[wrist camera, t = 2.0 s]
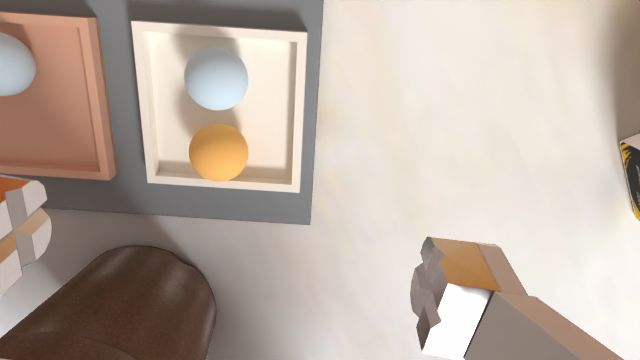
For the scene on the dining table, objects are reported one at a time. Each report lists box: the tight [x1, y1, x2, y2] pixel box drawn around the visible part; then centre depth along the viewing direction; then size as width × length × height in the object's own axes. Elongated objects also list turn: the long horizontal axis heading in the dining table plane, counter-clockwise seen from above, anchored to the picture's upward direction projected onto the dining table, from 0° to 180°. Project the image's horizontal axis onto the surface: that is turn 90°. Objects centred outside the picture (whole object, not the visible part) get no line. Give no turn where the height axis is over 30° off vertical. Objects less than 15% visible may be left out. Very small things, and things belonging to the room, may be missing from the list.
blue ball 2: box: [184, 46, 248, 110], centre depth 27 cm, size 4×4×4 cm
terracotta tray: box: [0, 11, 118, 180], centre depth 30 cm, size 11×11×1 cm
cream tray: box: [131, 20, 308, 193], centre depth 30 cm, size 11×11×1 cm
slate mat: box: [0, 0, 324, 225], centre depth 31 cm, size 18×27×1 cm, turn 86°
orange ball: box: [189, 123, 249, 182], centre depth 29 cm, size 4×4×4 cm
